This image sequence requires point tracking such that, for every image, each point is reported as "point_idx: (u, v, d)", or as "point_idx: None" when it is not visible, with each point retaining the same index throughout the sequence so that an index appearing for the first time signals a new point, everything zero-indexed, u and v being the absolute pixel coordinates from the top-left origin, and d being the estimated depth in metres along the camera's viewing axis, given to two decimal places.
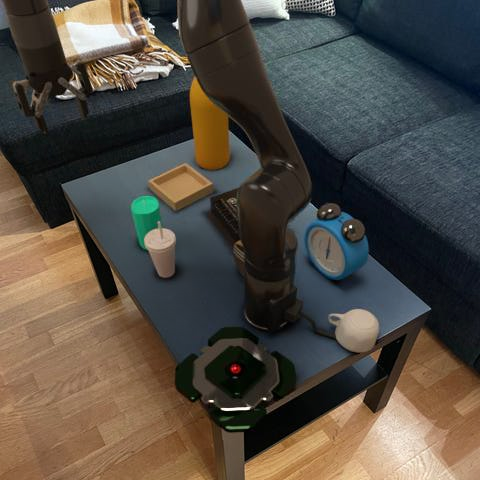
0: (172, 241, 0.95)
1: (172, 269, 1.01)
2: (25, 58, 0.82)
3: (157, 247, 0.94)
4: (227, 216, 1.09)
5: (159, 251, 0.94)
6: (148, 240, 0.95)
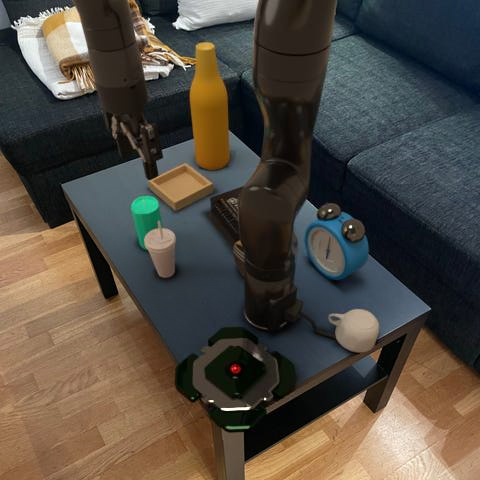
0: (172, 241, 0.95)
1: (172, 269, 1.01)
2: None
3: (157, 247, 0.94)
4: (227, 216, 1.09)
5: (159, 251, 0.94)
6: (148, 240, 0.95)
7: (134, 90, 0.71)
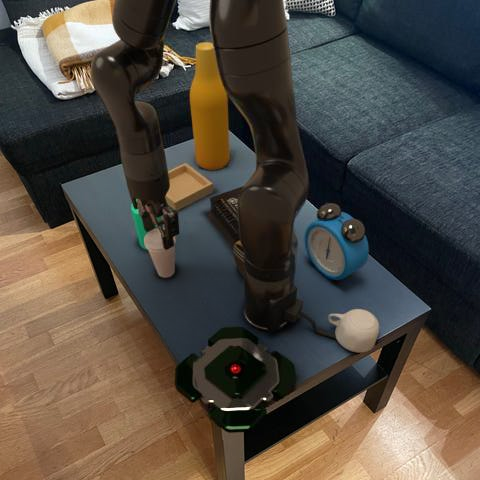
0: None
1: (172, 269, 1.01)
2: None
3: (157, 247, 0.94)
4: (227, 216, 1.09)
5: (159, 251, 0.94)
6: (148, 240, 0.95)
7: (159, 182, 0.82)
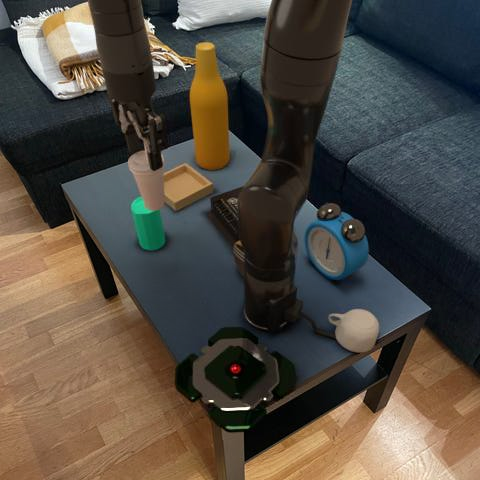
0: None
1: (161, 200, 0.88)
2: None
3: (143, 168, 0.81)
4: (227, 216, 1.09)
5: (145, 173, 0.81)
6: (133, 162, 0.83)
7: (142, 77, 0.69)
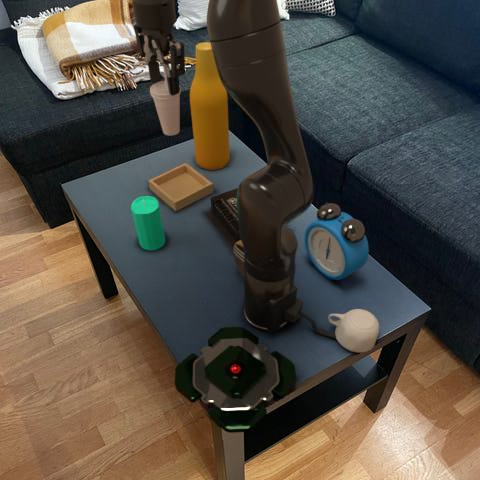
0: None
1: (177, 125, 1.03)
2: None
3: (162, 93, 0.97)
4: (227, 216, 1.09)
5: (164, 98, 0.97)
6: (154, 89, 0.98)
7: (166, 8, 0.84)
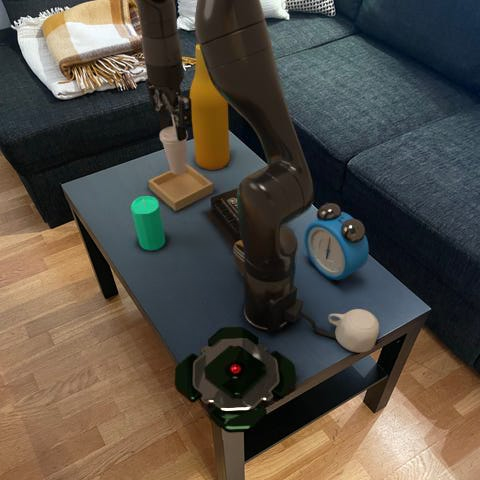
0: None
1: (184, 166, 1.13)
2: None
3: (171, 139, 1.06)
4: (227, 216, 1.09)
5: (173, 143, 1.06)
6: (163, 134, 1.08)
7: (175, 68, 0.94)
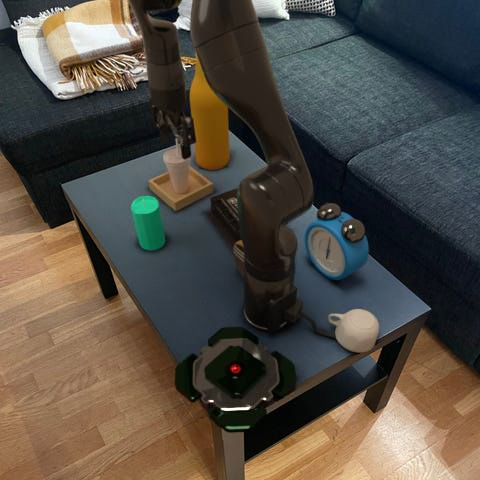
0: None
1: (186, 185, 1.18)
2: None
3: (174, 161, 1.11)
4: (227, 216, 1.09)
5: (176, 165, 1.11)
6: (167, 156, 1.12)
7: (178, 92, 0.98)
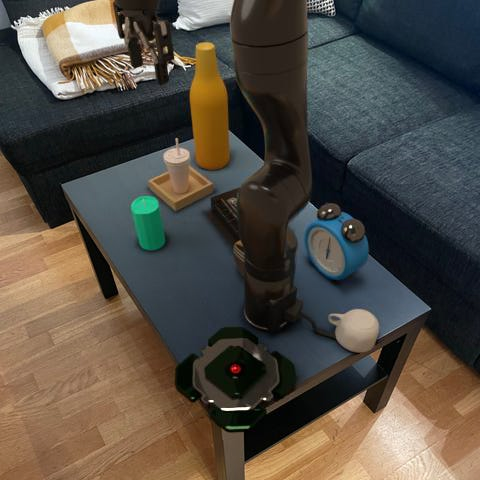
0: (187, 157, 1.12)
1: (186, 185, 1.18)
2: None
3: (174, 161, 1.11)
4: (227, 216, 1.09)
5: (176, 165, 1.11)
6: (167, 156, 1.12)
7: None
